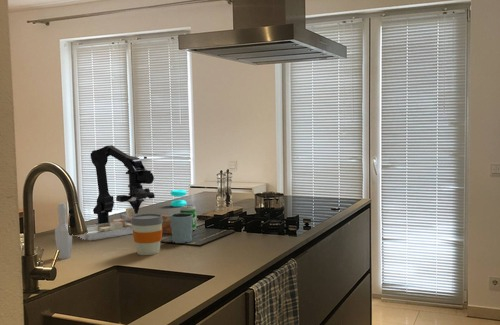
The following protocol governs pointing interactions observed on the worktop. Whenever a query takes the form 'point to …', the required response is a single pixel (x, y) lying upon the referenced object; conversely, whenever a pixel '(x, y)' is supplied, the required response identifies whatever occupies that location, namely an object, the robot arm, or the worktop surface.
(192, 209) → the soda can
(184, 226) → the blue-grey cup
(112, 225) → the beige block
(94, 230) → the box
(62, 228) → the faceted bottle
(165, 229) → the tin
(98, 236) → the rails
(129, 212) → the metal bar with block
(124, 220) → the salmon pink block
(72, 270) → the worktop surface
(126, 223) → the board
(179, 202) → the pair of cyan domes
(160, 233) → the reusable coffee cup
